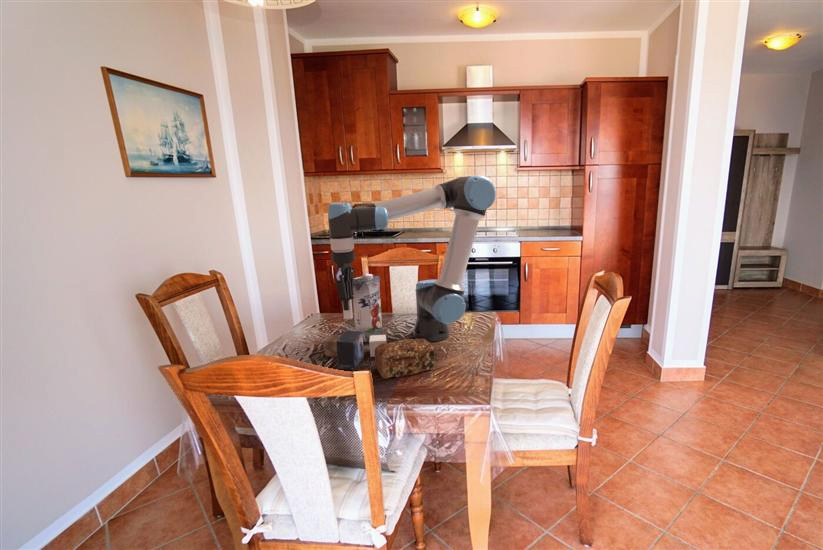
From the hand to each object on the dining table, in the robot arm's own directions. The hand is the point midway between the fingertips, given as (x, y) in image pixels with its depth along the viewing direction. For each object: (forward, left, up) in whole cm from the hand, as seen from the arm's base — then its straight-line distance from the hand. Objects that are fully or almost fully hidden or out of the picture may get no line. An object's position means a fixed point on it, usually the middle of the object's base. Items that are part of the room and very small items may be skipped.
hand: (348, 318), depth 135 cm
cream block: (-7, -10, -17) cm, 21 cm away
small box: (0, 0, -17) cm, 17 cm away
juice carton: (+1, -24, -17) cm, 29 cm away
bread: (-20, +2, -17) cm, 26 cm away
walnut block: (+9, -8, -17) cm, 21 cm away
